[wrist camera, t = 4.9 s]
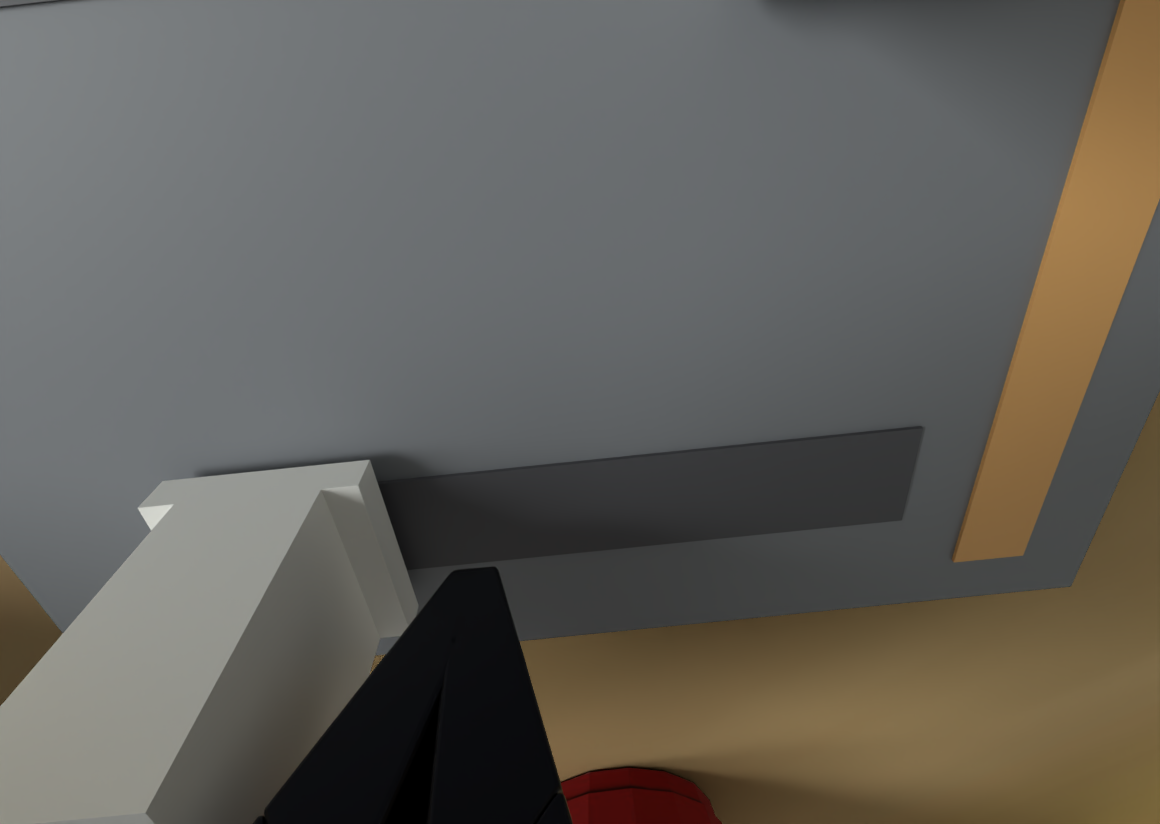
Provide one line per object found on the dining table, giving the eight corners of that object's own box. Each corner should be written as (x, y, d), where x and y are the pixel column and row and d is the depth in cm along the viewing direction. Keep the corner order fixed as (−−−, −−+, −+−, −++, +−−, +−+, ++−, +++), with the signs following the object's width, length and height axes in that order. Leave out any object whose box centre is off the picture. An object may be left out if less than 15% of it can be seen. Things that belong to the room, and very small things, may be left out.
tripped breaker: (242, 622, 10) (40, 988, 6) (162, 480, 9) (-177, 842, 5) (418, 605, 10) (331, 960, 6) (369, 459, 8) (209, 805, 5)
